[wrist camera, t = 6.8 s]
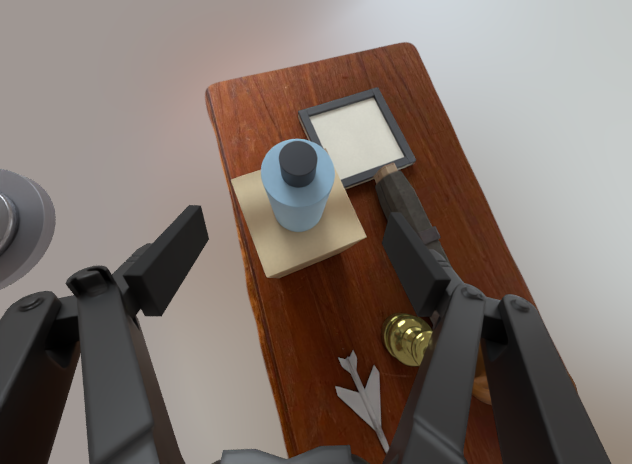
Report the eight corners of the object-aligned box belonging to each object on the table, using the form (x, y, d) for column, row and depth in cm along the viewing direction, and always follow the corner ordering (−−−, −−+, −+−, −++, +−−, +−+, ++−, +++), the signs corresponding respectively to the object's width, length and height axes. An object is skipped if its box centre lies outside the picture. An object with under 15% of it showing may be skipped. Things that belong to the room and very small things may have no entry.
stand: (256, 216, 41) (230, 179, 26) (316, 195, 43) (326, 147, 28) (279, 278, 40) (266, 277, 24) (340, 252, 41) (366, 237, 26)
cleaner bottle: (266, 194, 26) (243, 135, 15) (311, 178, 27) (320, 111, 16) (284, 239, 25) (273, 209, 14) (330, 221, 26) (352, 180, 15)
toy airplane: (369, 471, 35) (373, 484, 32) (314, 338, 38) (315, 342, 36) (411, 444, 36) (418, 455, 34) (354, 318, 39) (357, 321, 37)
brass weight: (374, 347, 38) (400, 371, 29) (387, 305, 40) (416, 314, 30) (414, 364, 38) (454, 393, 29) (425, 321, 40) (467, 335, 30)
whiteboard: (298, 117, 46) (298, 111, 45) (375, 93, 49) (377, 86, 47) (332, 194, 44) (333, 190, 42) (412, 164, 46) (416, 160, 44)
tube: (391, 180, 48) (470, 320, 40) (362, 194, 49) (433, 334, 40) (399, 152, 38) (508, 333, 29) (362, 169, 38) (458, 352, 30)
